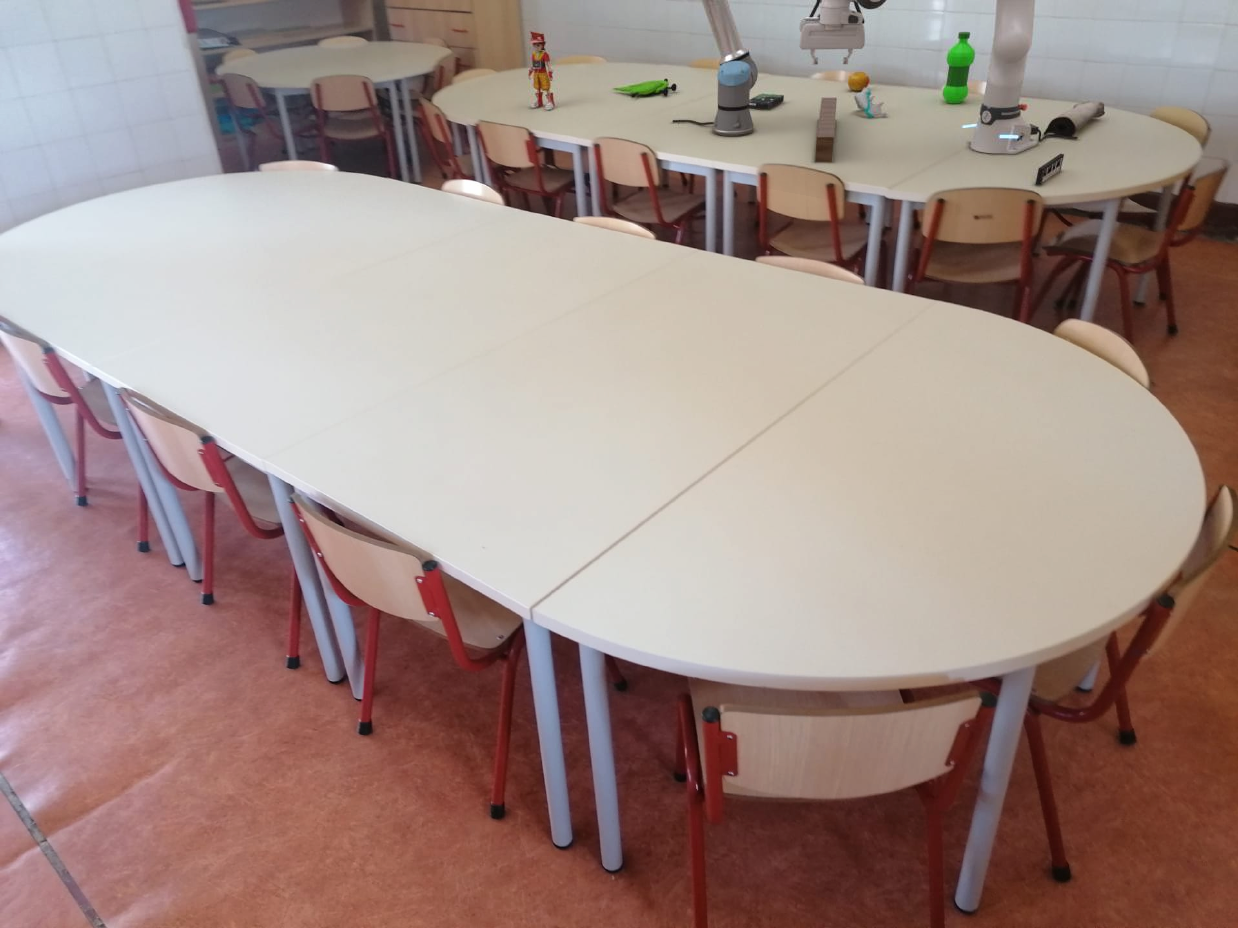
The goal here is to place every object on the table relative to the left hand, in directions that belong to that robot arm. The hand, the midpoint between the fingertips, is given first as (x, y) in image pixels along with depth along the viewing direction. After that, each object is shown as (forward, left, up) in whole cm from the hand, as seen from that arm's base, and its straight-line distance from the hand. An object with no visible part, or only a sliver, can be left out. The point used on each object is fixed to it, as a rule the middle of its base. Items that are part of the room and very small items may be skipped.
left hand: (833, 46), depth 323 cm
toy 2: (-95, +24, -27) cm, 101 cm away
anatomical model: (+10, +19, -27) cm, 34 cm away
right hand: (+13, -41, +2) cm, 43 cm away
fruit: (-6, +55, -27) cm, 62 cm away
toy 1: (-122, -13, -27) cm, 125 cm away
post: (+7, -20, -27) cm, 35 cm away
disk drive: (-33, +19, -27) cm, 47 cm away
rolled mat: (+83, +23, -27) cm, 90 cm away
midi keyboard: (+84, -38, -27) cm, 96 cm away
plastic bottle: (+35, +46, -27) cm, 64 cm away
